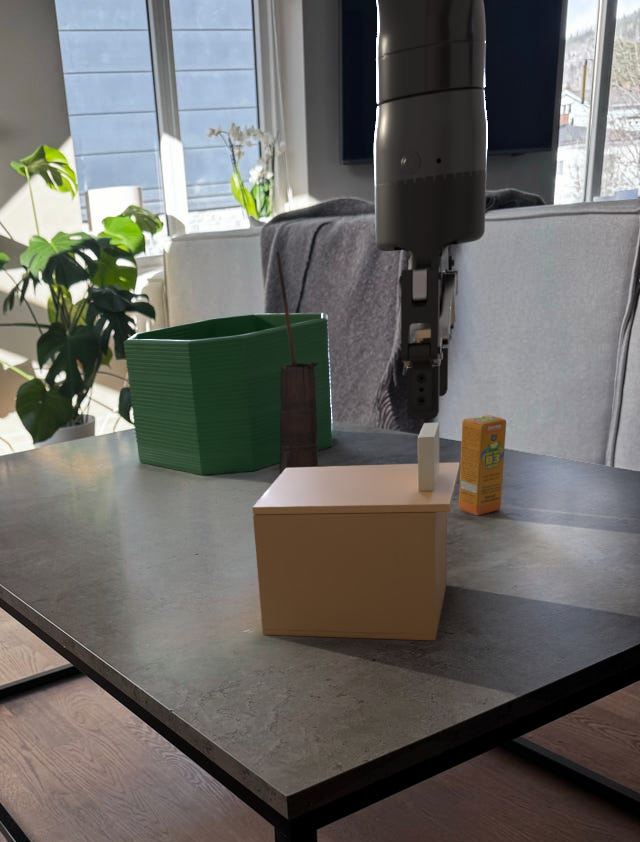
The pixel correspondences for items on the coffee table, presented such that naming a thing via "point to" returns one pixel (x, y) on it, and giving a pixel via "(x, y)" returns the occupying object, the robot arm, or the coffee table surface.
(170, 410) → the planter
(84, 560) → the coffee table surface
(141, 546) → the coffee table surface
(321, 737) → the coffee table surface
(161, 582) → the coffee table surface
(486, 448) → the supplement box
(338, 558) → the carton
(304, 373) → the butter churn
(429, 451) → the flap
